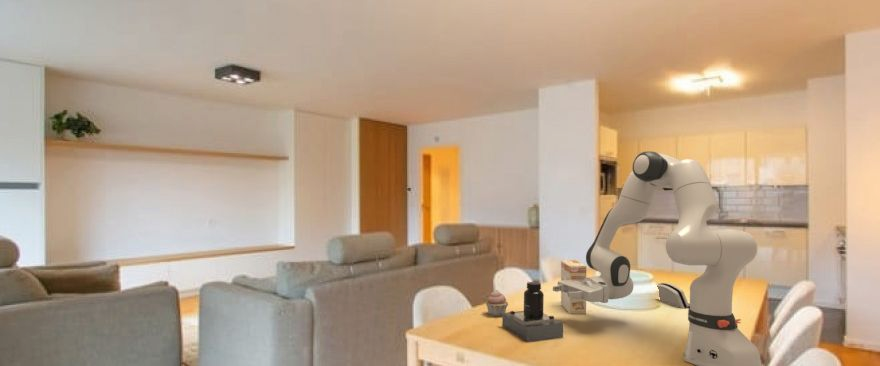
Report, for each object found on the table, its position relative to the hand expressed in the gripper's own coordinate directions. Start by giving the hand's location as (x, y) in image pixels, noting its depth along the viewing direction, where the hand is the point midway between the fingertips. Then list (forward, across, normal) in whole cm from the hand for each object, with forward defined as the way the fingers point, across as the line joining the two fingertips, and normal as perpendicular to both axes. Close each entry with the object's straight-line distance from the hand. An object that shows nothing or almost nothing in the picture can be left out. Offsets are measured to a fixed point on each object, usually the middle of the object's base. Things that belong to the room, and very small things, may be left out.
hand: (560, 291), depth 172 cm
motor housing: (+12, -2, +13) cm, 18 cm away
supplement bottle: (+12, +2, +8) cm, 15 cm away
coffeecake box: (-20, -21, +14) cm, 32 cm away
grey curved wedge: (-66, -15, +14) cm, 69 cm away
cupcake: (+14, -24, +14) cm, 31 cm away
